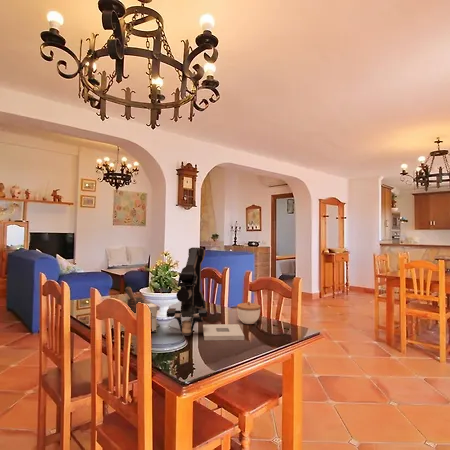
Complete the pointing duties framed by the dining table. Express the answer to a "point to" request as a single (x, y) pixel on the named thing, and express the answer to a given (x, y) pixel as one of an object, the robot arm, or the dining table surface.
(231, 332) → the socket block
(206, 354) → the dining table surface
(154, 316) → the supplement box
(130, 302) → the mortar and pestle
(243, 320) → the lidded bowl
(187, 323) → the maple spool
